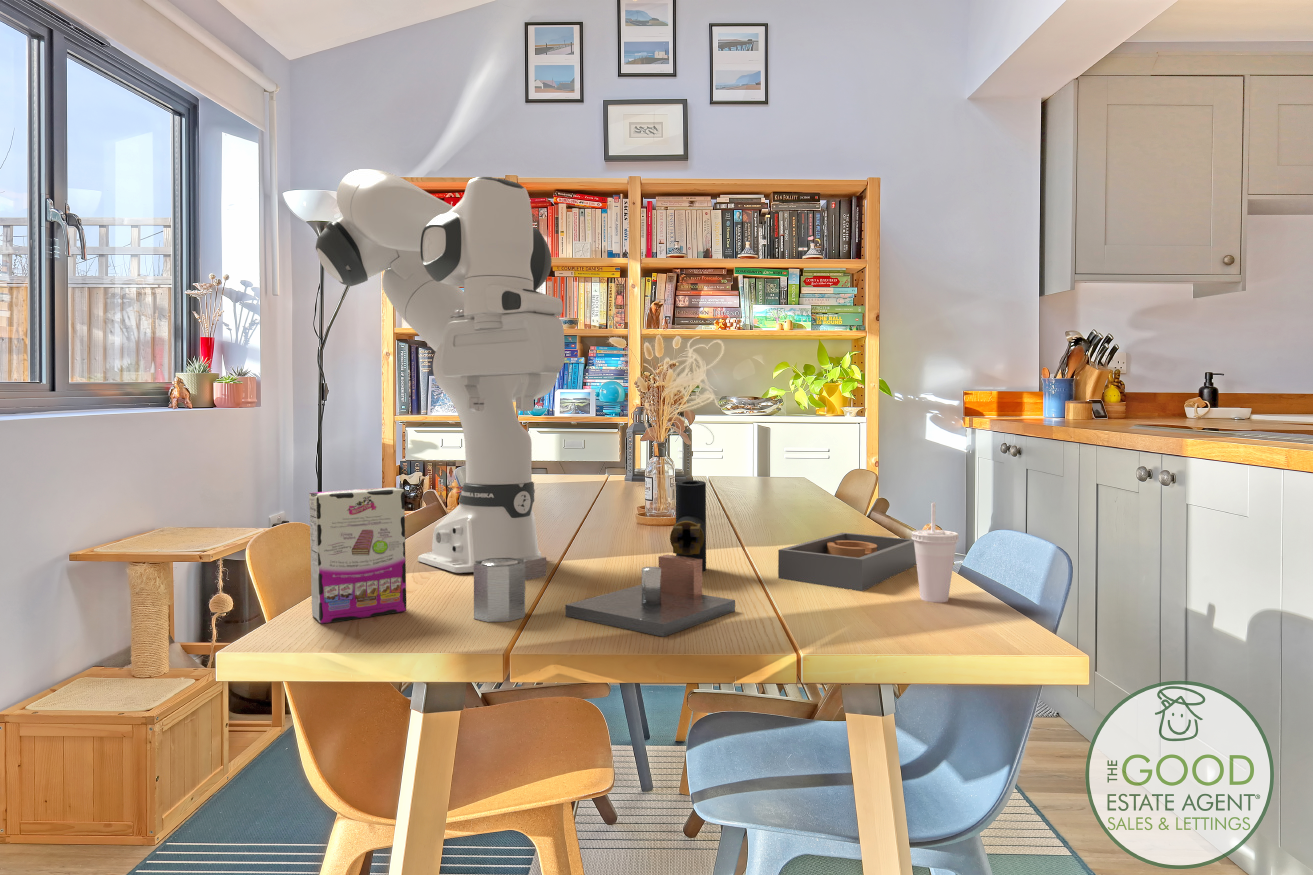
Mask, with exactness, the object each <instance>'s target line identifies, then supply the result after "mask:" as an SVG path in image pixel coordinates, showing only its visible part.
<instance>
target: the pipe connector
mask: <svg viewBox="0 0 1313 875" xmlns="http://www.w3.org/2000/svg"><path fill="white" fill-rule="evenodd" d="M669 541H670V545H671V546H672V553H673V554H675V556H682V557H689V558H697V559H702V573H704V572H706V571H707V483H706V482H705V481H704V480H703V481H702V480H698V479H697V480H696V479H691V480H690V479H687V480H685V479H684V480H679V481H675V523H674V525H673V527H672V530H671V532H670V534H669Z"/></svg>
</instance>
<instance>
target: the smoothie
mask: <svg viewBox="0 0 1313 875" xmlns="http://www.w3.org/2000/svg"><path fill="white" fill-rule="evenodd" d="M930 505H931V513H930V515H931V520H930V523H931V524H930V526H931V527H930V529H917V530H913V531H912V532H911V539H913V540H914V546H915V555H916V564H917V565H916V571H917V581H918V589H919V596H920V600H922V601H924V602H928V603H945V602H948V601H949V596H950V590H951V582H952V577H953V576H952V575H953V568H954V563H955V562H954V560H955V554H956V548H957V543H958V542H960V539H959V533H958V532H955V531H949V530H942V529H936V505H937V504H936V502H931V504H930Z"/></svg>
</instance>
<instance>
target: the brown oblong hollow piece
mask: <svg viewBox="0 0 1313 875" xmlns="http://www.w3.org/2000/svg"><path fill="white" fill-rule="evenodd" d="M874 552H877V545H876V544H873V543H869V542H862V541H834V543H833V542H828V543H827V554H830V555H839V556H847V557H856V558H860V557H862V556H865V555H868V554H871V553H874Z"/></svg>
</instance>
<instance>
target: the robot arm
mask: <svg viewBox="0 0 1313 875" xmlns="http://www.w3.org/2000/svg"><path fill="white" fill-rule="evenodd" d="M529 195H530V194H529V193H528V191H527V188H525V187H524V186H523V185H521V184H520V183H518V182H515V181H512V180H508V179H504V178H499V177H498V178H497V177H492V176H476V177H474V178H471V179H470V180H469V181H468V182H467V184H466V186H465V190H464V194H463V196H462V198H461V199H460V200H459V201H458V202H457V203H456V205H455V206H453V205H451V204H449V203H447V202H446V201H444V200H442V199H440V198H438V197H436V196H435V195H432V194H431V193H429V192H427V191H426V190H424V189H423V188H420V187H419V186H417V185H415V184H413V183H412V182H410V181H409V180H407V179H405V178H402V177H400V176H399V175H396V174H393V173H391V172H388V171H385V170H380V169H371V168H370V169H369V168H364V169H358V170H357V169H356V170H354V171H351V172H349V173H347V174H346V175H345V176H344V177H343V178H342V180H341V181H340V182H339V185H338V186H337V190H336V204H337V208H338V209H339V211H340V212H339V213H340V214H341V215H342V216H341V217H340V218H338V219H337V220H335V221H333V222H331V221H328V223H327V224H326V226H325V228H324V229H323V230H322V232H320V234H319V235H318V237H317V238H316V244H315V251H316V253H317V256H318V260H319V262H320V264H321V265H322V267H323V269H324V270H325V271H326V273H327V274H328V275H329V276H331V278H333V279H335V280H336V281H338V282H339V283H340V284H342V285H345V286H348V287H353V286H357V285H360V284H362V283H365V282H368V280H369V278H371V277H374V276H376V275H378V274H380V273H382V272H383V274H382V279H381V280H382V281H381V283H382V289H383V292H384V294H385V295H386V297H387V299H388V301H389V302H390V303H391V305H392V307H393V308H394V309H395V311H396V312H397V313H398V315H399V316H400V317H401V318H402V319H403V320H404V321H405V322H406V323H407V324H408V326H409V327H411V329H412V330H413V331H415V332H416V334H418V335H419V337H420V338H421V339H422V340H423V341H424V342H425V343H426V344H427V345H428V346H429V347H430V348H431V349H432V350H433V351H434V356H433V360H432V373H433V377H434V381H435V382H436V384H437V385H438V387H439V388H440V389H441V390H442V392H443V393H445V394H446V396H448V398H449V399H450V401H451V402H452V405H453V406H454V408H455V410H456V413H457V416H458V419H459V422H460V425H461V427H462V433H463V438H464V448H465V449H464V450H465V452H464V453H465V482H464V483H463V484H462V486H455V489H458V490H459V489H460V490H459V491H455V494H460V495H459V499H458V503H459V504H458V505H457V506H456V507H455V508H454V509H453V510H452V511H450V513H449V514H448V515H447V516H446V517H445V518H443V519H442V520H441V521H440V522H439V523H438V524H436V526H435V527H434V529H433V534H432V546H431V548H432V549H431V550H432V551H428V552H425V553H422V554H420V555H418V557H417V562H420V563H423V564H426V565H430V566H432V567H437V568H439V569H442V570H446V571H449V572H452V573H457V574H459V573H461V574H463V573H474V563H475V561H478V560H483V559H489V558H520V557H526V556H531V555H535V556H542V552H541V551H540V550H539V545H538V536H537V524H536V515H535V513H534V510H533V504H534V502H535V493H536V490H535V483H534V481H532V473H533V472H532V458H533V456H532V455H533V454H532V442H533V441H532V438H531V435H530V434H529V432H528V431H527V430H526V429H525V428H524V427H523V425H522V424H521V422H520V421H519V418H518V416H517V413H516V411H518V412H531V411H534V407H535V404H534V402H535V401H534V400H537V399H539V398H543V397H545V396H547V395H548V394H549V393H550V392H551V391H552V390H553V388H554V387H555V385H556V383H557V379H558V374H559V373H560V372H561V370H562V369H563V367H564V364H565V359H566V358H565V353H566V352H565V350H566V349H565V348H566V347H565V330H564V324H563V322H562V320H561V319H560V317H559V316H562V315H563V314H562V313H563V309H564V308H563V307H564V305H563V301H562V299H561V298H560V297H559V298H558V297H556V296H553V295H549V294H546V293H543V292H540V291H538V290H539V288H540V287H542V285H544V283H545V282H546V281H547V279H548V277H549V275H550V272H551V269H552V260H553V259H552V254H551V251H550V247H549V244H548V243H547V241H546V239H545V237H544V235H543V234H542V233H541V231H540V230H539V229H538V228H537V227H535V226H534V224H533V223H534V222H533V213H532V205H531V199H530V196H529ZM460 287H462V288H463V290H462V289H461V288H460ZM514 403H516V404H515V407H514Z"/></svg>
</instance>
